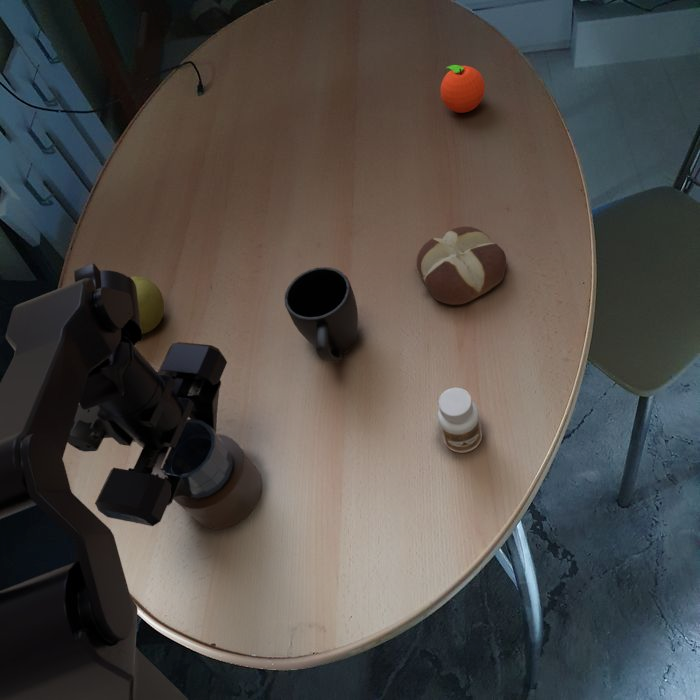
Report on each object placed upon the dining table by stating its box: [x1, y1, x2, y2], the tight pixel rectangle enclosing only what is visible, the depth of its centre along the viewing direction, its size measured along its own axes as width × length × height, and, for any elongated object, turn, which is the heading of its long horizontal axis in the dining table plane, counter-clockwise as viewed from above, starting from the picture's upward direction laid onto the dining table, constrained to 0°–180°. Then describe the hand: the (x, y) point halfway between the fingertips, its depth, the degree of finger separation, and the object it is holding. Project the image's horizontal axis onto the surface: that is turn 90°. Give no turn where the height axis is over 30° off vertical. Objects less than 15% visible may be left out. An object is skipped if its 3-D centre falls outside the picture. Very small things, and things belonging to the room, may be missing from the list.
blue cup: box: [162, 418, 233, 498], centre depth 72 cm, size 7×7×6 cm
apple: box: [129, 275, 165, 335], centre depth 95 cm, size 8×8×7 cm
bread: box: [416, 226, 507, 305], centre depth 88 cm, size 11×11×5 cm
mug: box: [284, 266, 359, 363], centre depth 83 cm, size 8×12×10 cm
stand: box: [173, 433, 263, 530], centre depth 77 cm, size 9×9×6 cm
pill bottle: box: [436, 387, 483, 454], centre depth 73 cm, size 4×4×8 cm
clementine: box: [440, 64, 486, 114], centre depth 107 cm, size 8×7×7 cm
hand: (199, 464), depth 73 cm, fingers closed on blue cup, 7 cm apart
